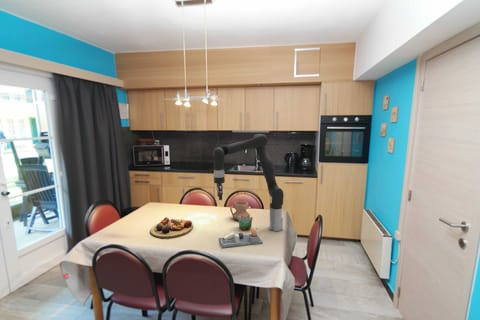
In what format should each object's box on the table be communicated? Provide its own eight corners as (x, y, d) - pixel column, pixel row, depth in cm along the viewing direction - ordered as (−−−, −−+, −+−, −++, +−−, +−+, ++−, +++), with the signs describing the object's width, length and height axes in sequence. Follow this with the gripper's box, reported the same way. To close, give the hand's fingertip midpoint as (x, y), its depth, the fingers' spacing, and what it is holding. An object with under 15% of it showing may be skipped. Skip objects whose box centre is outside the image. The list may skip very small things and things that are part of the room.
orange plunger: (255, 234, 163) (255, 227, 162) (257, 236, 160) (257, 229, 159) (250, 234, 162) (250, 228, 162) (252, 237, 159) (252, 230, 158)
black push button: (242, 236, 167) (242, 232, 167) (243, 238, 164) (243, 235, 163) (237, 236, 166) (237, 233, 166) (238, 238, 163) (238, 235, 162)
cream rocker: (234, 232, 166) (233, 230, 165) (235, 235, 162) (234, 233, 161) (224, 237, 164) (223, 236, 164) (225, 240, 161) (224, 238, 160)
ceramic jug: (252, 216, 207) (252, 200, 205) (249, 222, 193) (248, 206, 191) (232, 215, 211) (232, 199, 209) (228, 221, 197) (227, 204, 195)
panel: (257, 235, 171) (257, 229, 171) (262, 243, 159) (262, 237, 158) (219, 239, 165) (218, 233, 165) (221, 248, 153) (221, 241, 152)
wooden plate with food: (200, 223, 193) (199, 214, 192) (180, 241, 163) (179, 229, 162) (166, 220, 202) (165, 211, 201) (141, 236, 171) (140, 225, 170)
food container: (235, 229, 181) (234, 217, 180) (238, 226, 187) (238, 214, 185) (249, 232, 176) (249, 219, 175) (252, 228, 182) (252, 216, 180)
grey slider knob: (238, 240, 161) (238, 233, 160) (239, 242, 157) (239, 236, 157) (234, 240, 160) (234, 234, 160) (235, 243, 157) (235, 236, 156)
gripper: (226, 177, 159) (226, 200, 161) (223, 173, 173) (223, 195, 175) (215, 178, 157) (215, 201, 160) (212, 174, 171) (213, 195, 174)
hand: (219, 198), depth 167 cm, fingers open, 8 cm apart
